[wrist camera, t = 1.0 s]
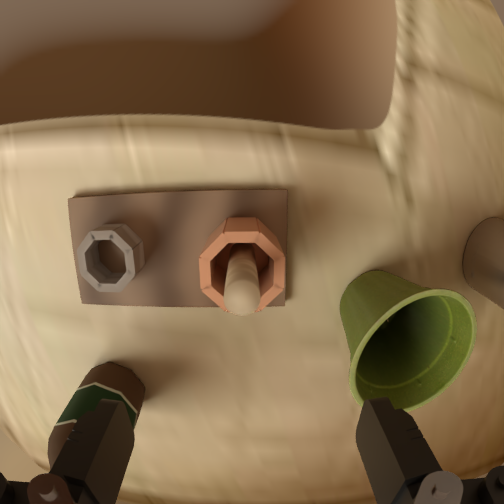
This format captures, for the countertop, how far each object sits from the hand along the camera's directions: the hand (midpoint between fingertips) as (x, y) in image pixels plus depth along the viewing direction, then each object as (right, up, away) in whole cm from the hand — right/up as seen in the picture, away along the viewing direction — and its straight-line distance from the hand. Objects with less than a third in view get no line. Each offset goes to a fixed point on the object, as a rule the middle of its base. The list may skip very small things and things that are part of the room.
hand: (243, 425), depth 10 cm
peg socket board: (-7, +6, +21) cm, 23 cm away
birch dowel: (-1, +5, +19) cm, 20 cm away
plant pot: (+13, 0, +23) cm, 26 cm away
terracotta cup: (-1, +6, +20) cm, 21 cm away
